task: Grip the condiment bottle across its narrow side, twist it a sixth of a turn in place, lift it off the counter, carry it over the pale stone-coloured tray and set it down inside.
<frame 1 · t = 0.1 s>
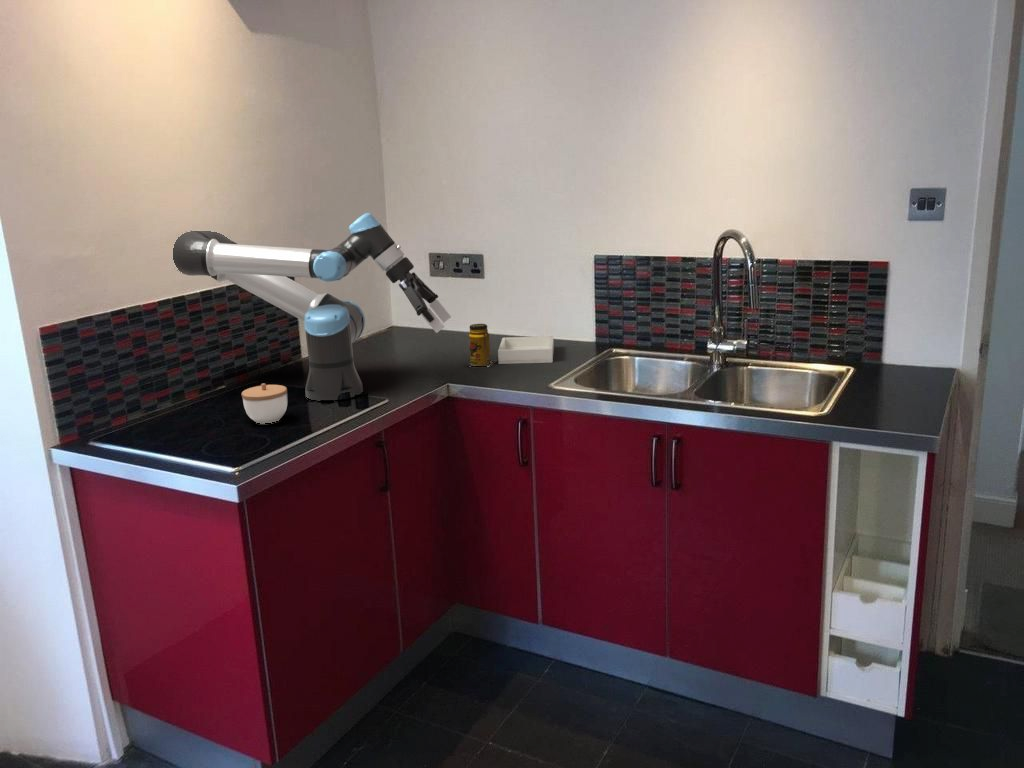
hand: (444, 324, 247), 15 cm above the worktop, tool tilted 35°, fingers open, 13 cm apart
lidded jar: (268, 421, 220), on the worktop
tray: (527, 355, 273), on the worktop
condiment: (482, 364, 266), on the worktop
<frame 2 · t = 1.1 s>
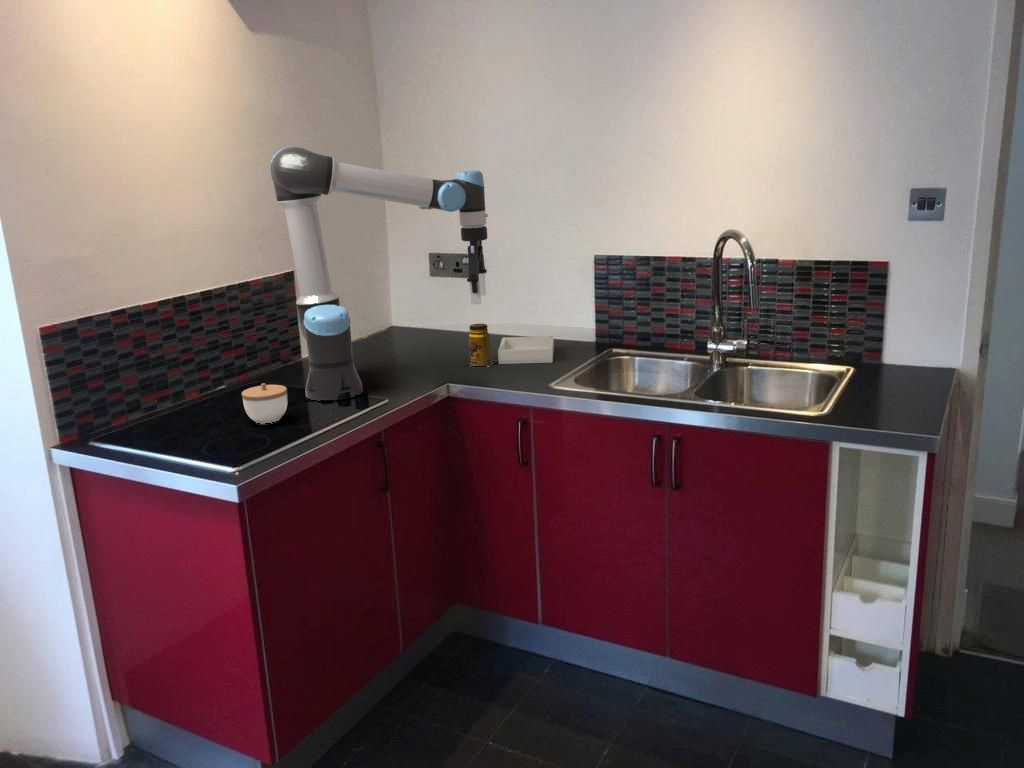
hand: (478, 299, 261), 19 cm above the worktop, tool pointing down, fingers open, 13 cm apart
nothing on the worktop moved.
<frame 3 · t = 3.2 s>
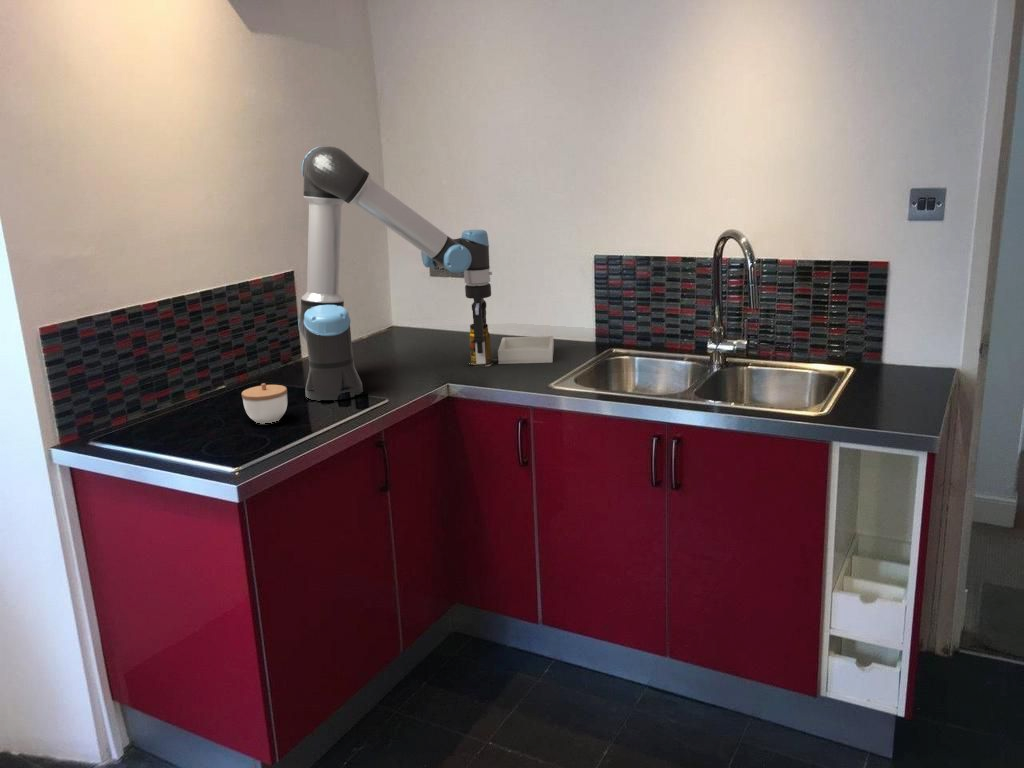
hand: (482, 360, 266), 1 cm above the worktop, tool pointing down, fingers closed on condiment, 6 cm apart
condiment: (482, 363, 267), on the worktop, touching gripper
everything else where it was.
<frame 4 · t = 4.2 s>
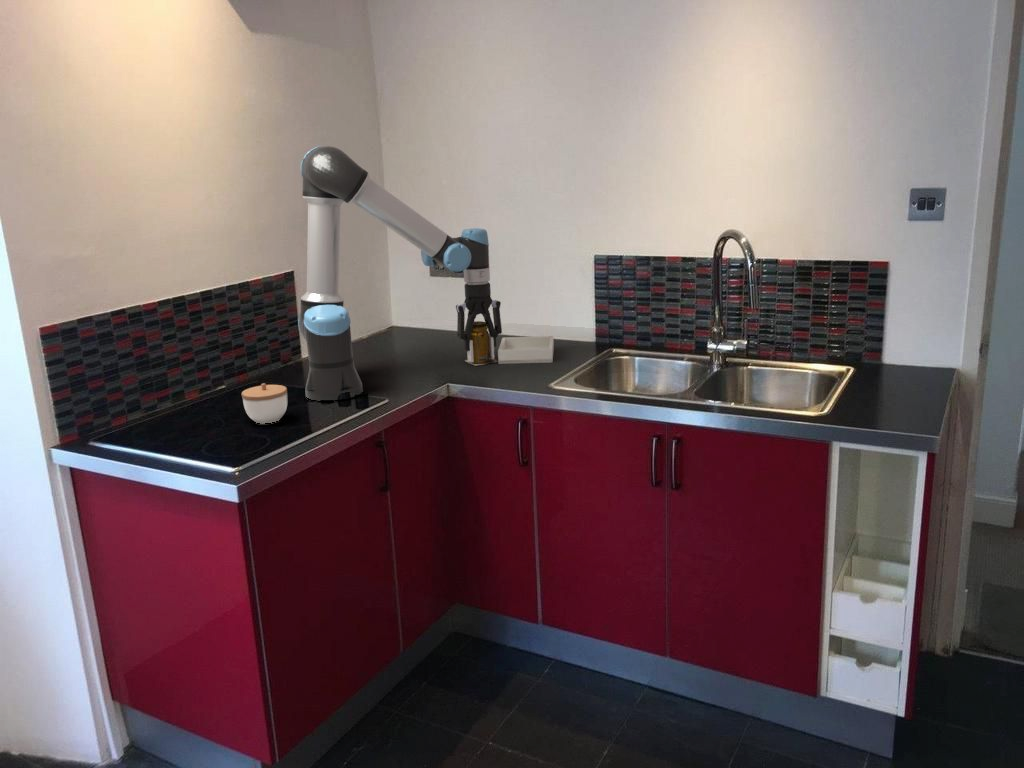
hand: (481, 359, 266), 1 cm above the worktop, tool pointing down, fingers closed on condiment, 6 cm apart
condiment: (481, 362, 268), on the worktop, touching gripper, tray
everything else where it was.
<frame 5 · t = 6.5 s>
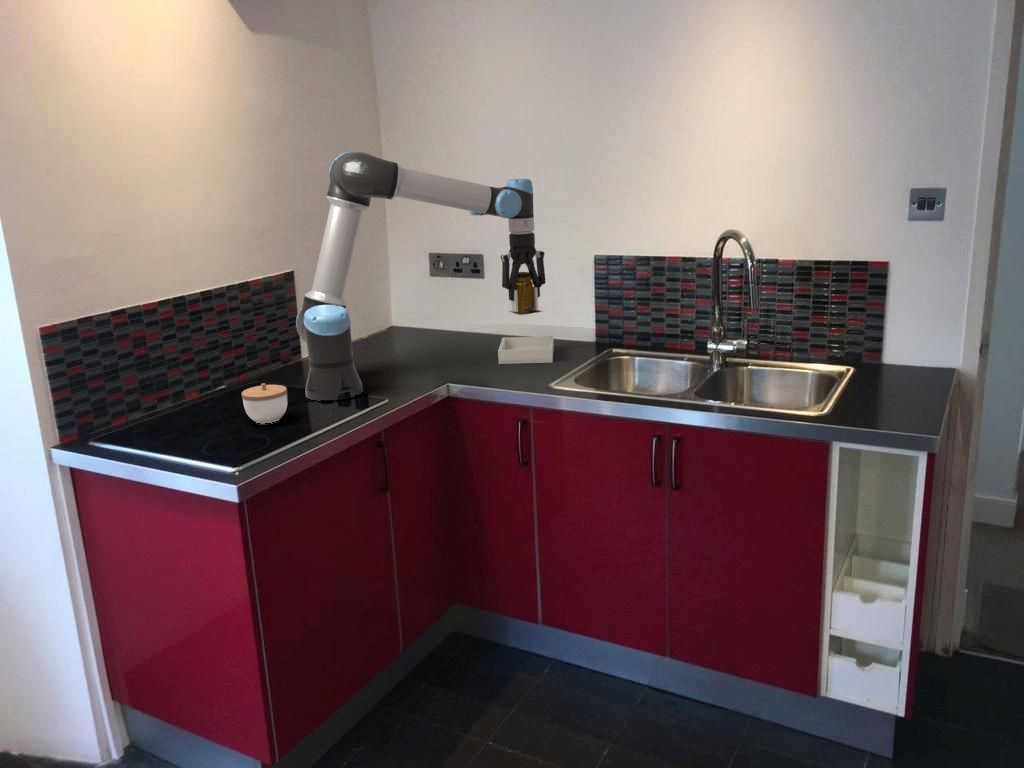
hand: (525, 309, 269), 14 cm above the worktop, tool pointing down, fingers closed on condiment, 6 cm apart
condiment: (525, 312, 271), point 13 cm above the worktop, touching gripper
everything else where it was.
when the fingers open (4 cm above the worktop, at t = 8.5 s): condiment drops 2 cm, resting on tray.
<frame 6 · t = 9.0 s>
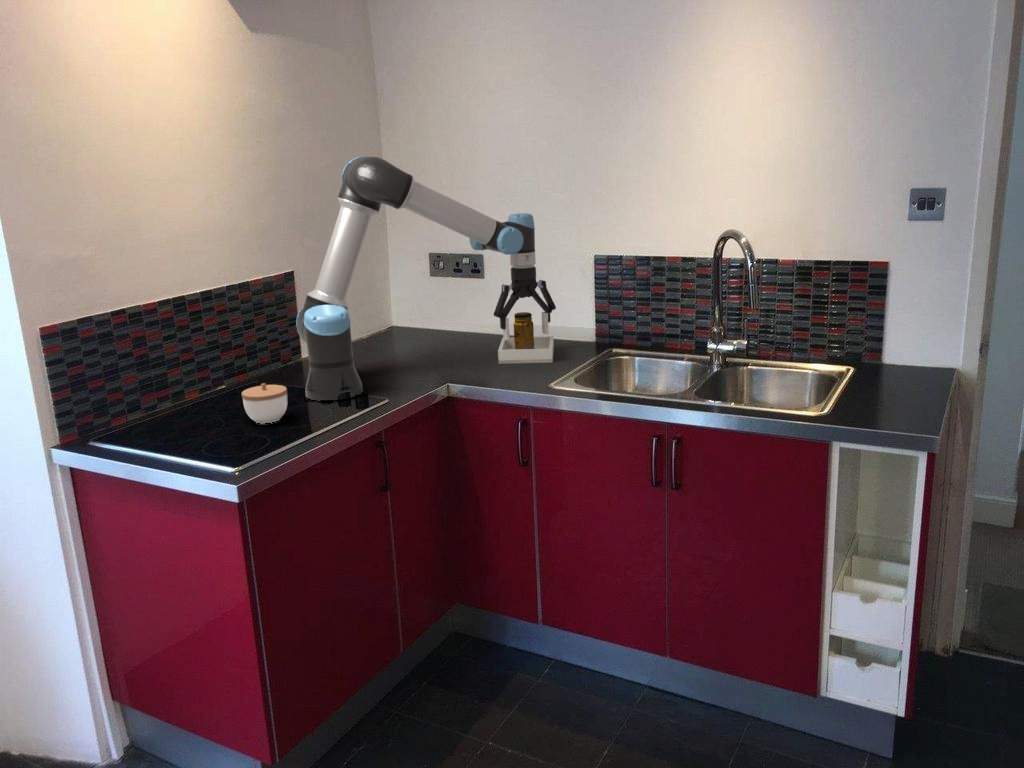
hand: (526, 336, 271), 6 cm above the worktop, tool pointing down, fingers open, 13 cm apart
condiment: (527, 352, 274), point 1 cm above the worktop, touching tray
everything else where it was.
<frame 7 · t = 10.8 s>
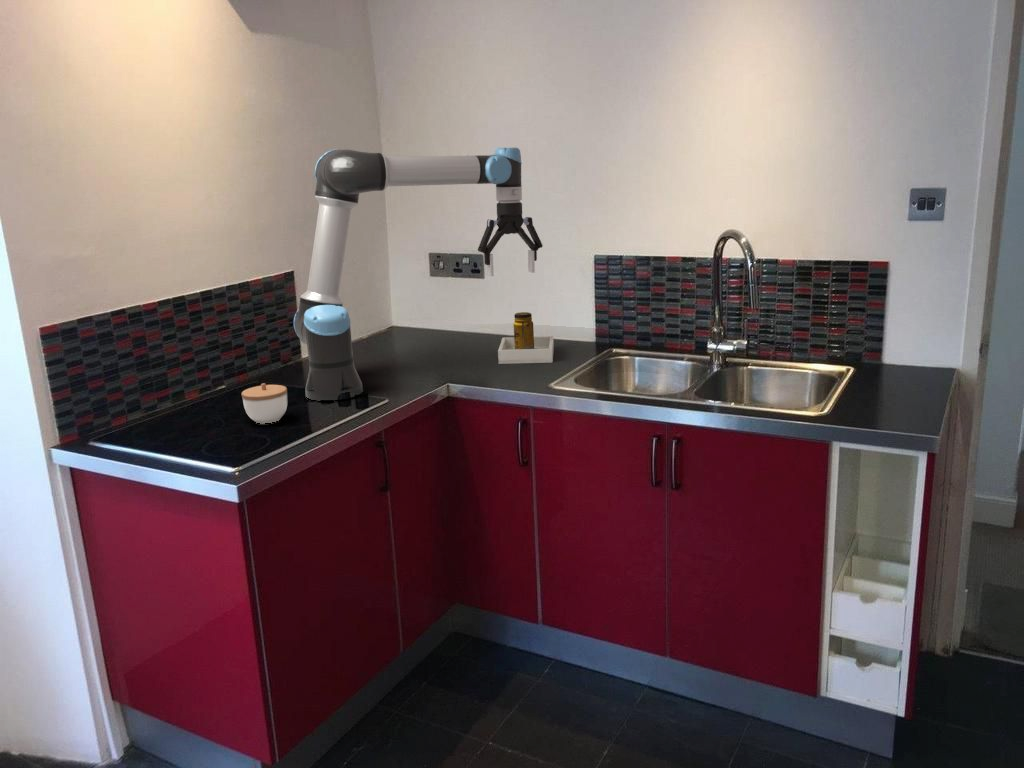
hand: (511, 274, 267), 25 cm above the worktop, tool pointing down, fingers open, 13 cm apart
nothing on the worktop moved.
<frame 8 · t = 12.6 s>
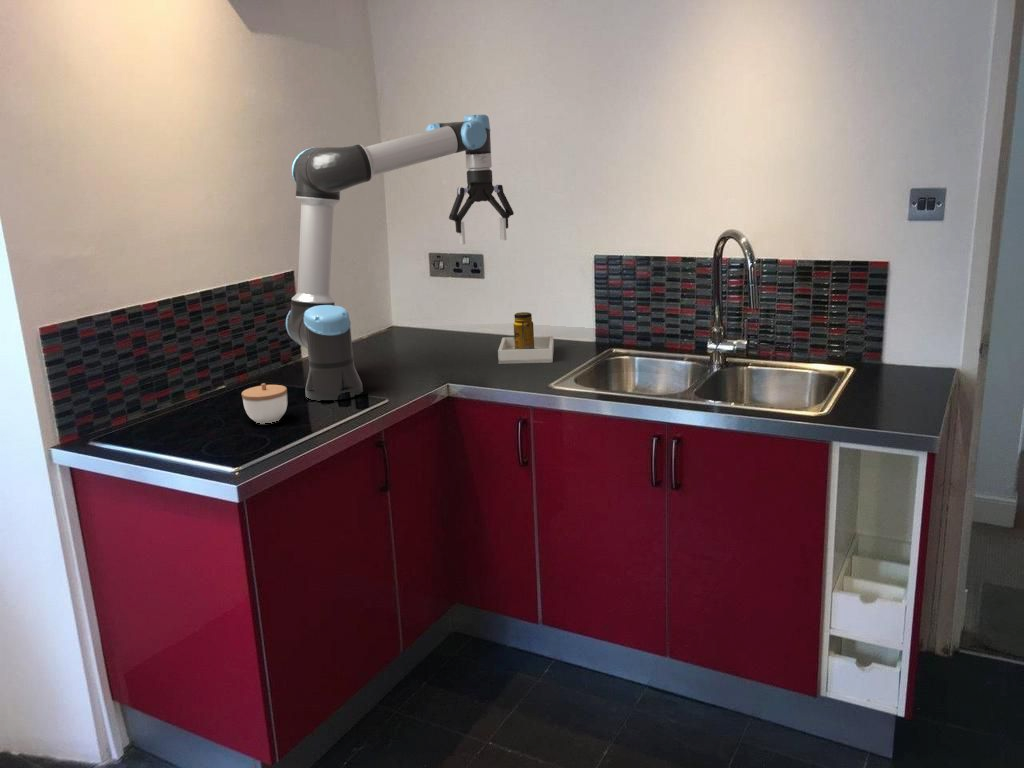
hand: (483, 241, 269), 35 cm above the worktop, tool pointing down, fingers open, 13 cm apart
nothing on the worktop moved.
at the end: condiment inside the target area on the tray (1.6 cm from its centre), point 0.8 cm above the tray's base; condiment tilted 0°; the gripper is holding nothing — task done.
